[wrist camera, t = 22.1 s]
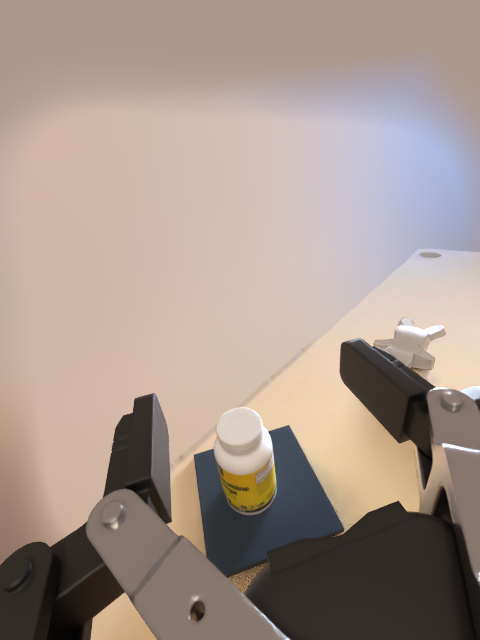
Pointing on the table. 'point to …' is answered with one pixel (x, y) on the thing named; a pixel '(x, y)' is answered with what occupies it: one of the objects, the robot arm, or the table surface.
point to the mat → (273, 523)
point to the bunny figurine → (412, 344)
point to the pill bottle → (245, 461)
